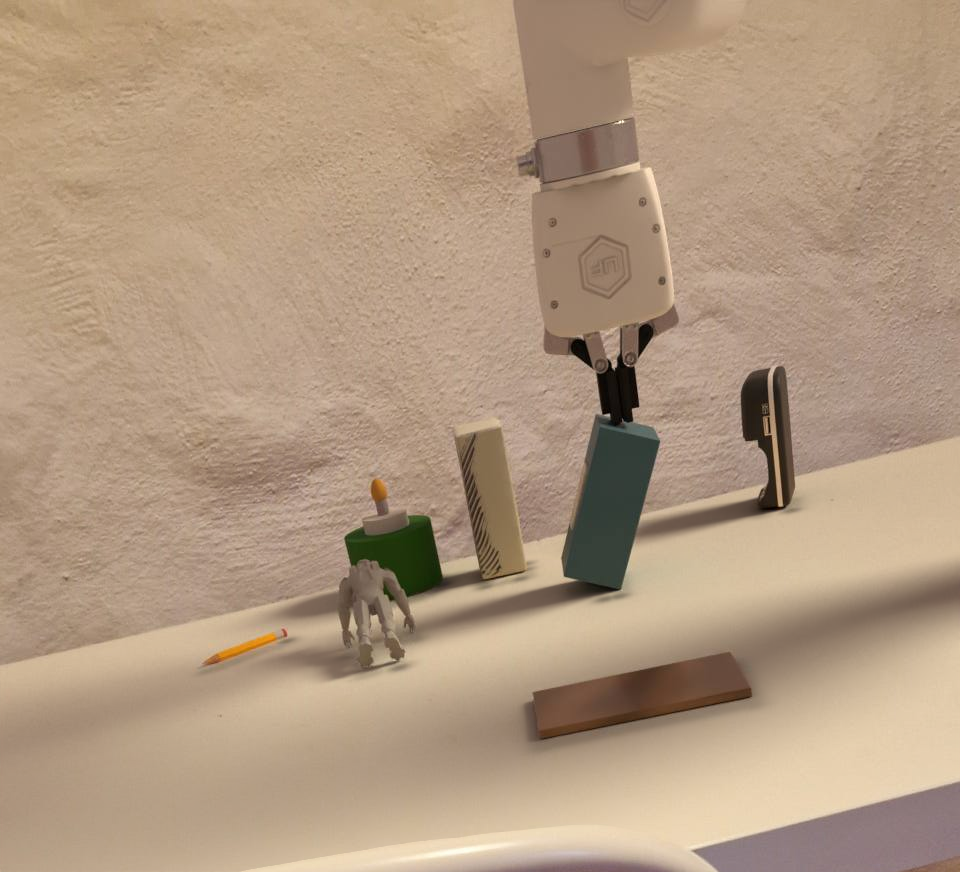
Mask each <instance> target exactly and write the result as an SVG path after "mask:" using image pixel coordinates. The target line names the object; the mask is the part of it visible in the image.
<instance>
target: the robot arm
mask: <svg viewBox="0 0 960 872" xmlns="http://www.w3.org/2000/svg"><path fill="white" fill-rule="evenodd" d="M755 1H756V0H512V6H513V13H514V19H515V25H516V33H517V40H518V46H519V54H520V60H521V61H520V62H521V66H522V74H523V80H524V87H525V88H524V89H525V94H526V100H527V108H528V115H529V120H530V127H531V134H532V140H533V143H532V144H533V147H531V148H530V151H526V152H525V154H522V155H518V156H516V157H515V158H516V166H517V172H518V177H519V178H521V177H526V176H529V178H530V177H534V179H538V183H539V188H540V190H539V191H536V192H533V193H532V194H531V228H532V243H533V244H532V246H533V247H532V249H533V258H534V268H535V276H536V284H537V294H538V301H539V306H540V312H541V315H542V320H543V338H542V340H543V341H542V349H543V351H544V352H545V353H546V354H547V355H552V356H555V355H556V356H575V357H576V358H577V359H579V360H580V361H581V362H583V363H584V364H585V365H587V366H588V367H589V368H591V369H592V370H593V371H594V372H595V375H596V382H597V390H598V397H599V404H600V409H601V410H600V411H601V415H603V416H607V415H609V417H610V419H611V421H612V423H613V425H614V426H615V425H620V423H621V422H622V420H623V421H624V422H627V423H630V422H633V423H634V414H633V410H634V409H638V408H640V399H639V391H638V381H637V373H636V365H637V364H638V362H639V358H640V357H641V356H642V354H643V353H644V351H645V349H646V348H647V346H648V345H649V343H650V342H651V340H652V339H654V338H655V337H658V336H661V335H662V334H664V333H666V332H668V331H670V330H672V329H674V328H676V327H677V326H678V325H679V322H680V318H679V314H678V312H677V308H676V305H675V302H674V301H675V288H674V287H675V286H674V277H673V268H672V262H671V255H670V249H669V243H668V237H667V231H666V225H665V219H664V214H663V209H662V203H661V199H660V194H659V190H658V187H657V183H656V179H655V176H654V173H653V170H652V167H651V166H647V167H641V162H640V153H639V152H640V151H639V145H638V144H639V143H638V135H637V127H636V118H634V117H635V111H634V110H635V109H634V100H633V93H632V92H633V91H632V83H631V76H630V75H631V74H630V67H629V58H637V57H638V58H639V57H657V56H665V55H673V54H679V53H681V52H686V51H696V50H699V49H704V48H707V47H710V46H712V45H713V44H715V43H717V42H719V41H720V40H721V39H722V38H724V37H725V36H726V35H727V34H729V33H730V32H731V31H732V30H733V28H734V27H735V26H737V24H738V23H739V22H740V21H741V20H742V19H743V17H744V15H745V14H747V12H748V11H749V10H750V8H751V7H752V6H753V5H754V2H755ZM534 140H535V141H534ZM614 328H619V348H618V349H619V351H618V352H619V354H618V356H617V357H616V367H613V364H612V361H611V360H610V359H609V358H607V354H606V351H605V347H604V343H603V339H602V336H601V331H605V330H609V329H614ZM581 335H582V337H579V336H581Z"/></svg>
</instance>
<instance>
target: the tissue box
mask: <svg viewBox="0 0 960 872" xmlns="http://www.w3.org/2000/svg"><path fill="white" fill-rule="evenodd" d="M588 440H589V441H588V443H587V444H588V445H587V449H586V453H585V456H584V460H583V465H582V466H583V467H582V469H581V474H580V478H579V482H578V486H577V490H576V494H575V499H574V502H573V507H572V511H571V515H570V519H569V523H568V527H567V531H566V537H565V539H564V544H563V547H562V552H561V557H560V560H561V566H562V567H561V568H562V574H563V577H564V578H567V579H572V580H575V581H581V582H585V583H590V584H593V585H599V586H603V587H606V588H610V589H616V590H622V587H623V583H624V579H625V577H626V572H627V569H628V565H629V562H630V558H631V554H632V551H633V546H634V543H635V539H636V535H637V531H638V527H639V524H640V520H641V516H642V513H643V509H644V504H645V502H646V497H647V494H648V490H649V487H650V482H651V478H652V476H653V471H654V468H655V463H656V460H657V456H658V452H659V449H660V444H661V439H660V437H659V435H658V433H657V431H656V429H655V428H654V426H649V425H646V424H641V423H637V422H634V421H633V422H630V423H627V422H624V421H623V419H622V422H621V423H620V425H615V426H614V425H613V423H612V421H611V419H610V416H607V415H602V414H598V413H596V414H595V416H594V420H593V424H592V428H591V433H590V436H589V439H588Z"/></svg>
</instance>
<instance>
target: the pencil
mask: <svg viewBox="0 0 960 872" xmlns="http://www.w3.org/2000/svg"><path fill="white" fill-rule="evenodd" d="M286 637H288V632H287V630H286V629H285V628H281V629H278V630H275V631H273V632H270V633H267V634H265V635H262V636H259V637H257V638H254V639H252V640H251V639H250V640H249V641H246V642H244V643H241V644H238V645H235V646H233V647H230V648H228V649H224V650H221V651H219V652H216V653H215V654H213V655H212V656H210V657H209V658H207V659H206V660H204V661H202V663H201V665H207V664H214V663H220V662H223V661H226V660H228V659H231V658H234V657H237V656H239V655H241V654H244V653H247V652H250V651H252V650H255V649H257V648H260V647H263V646H265V645H268V644H271V643H273V642H276V641H279V640H282V639H284V638H286Z"/></svg>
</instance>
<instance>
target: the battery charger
mask: <svg viewBox="0 0 960 872" xmlns="http://www.w3.org/2000/svg"><path fill="white" fill-rule="evenodd" d="M787 379H788V378H787V372H786V368H785V367H784V366H783V365H772V366H771V367H768V368H762V369H756V370H754V371H751V372H750V373H749V374H748V375H747V377H746V378H745V380H744V382H743V384H742V386H741V390H740V412H741V413H740V418H741V430H742V438H744V441H745V442H755V441H756V442H757V447H758V448H759V449H760V450H761V451H762V452H763V453H764V454H765V457H766V464H767V475H768V476H767V477H768V480H767V483H766V484H764V487H761V489H760V490H759V494H758V496H757V499H756V504H757V508H759V509H770V508H777V507H778V508H783V507H784V506H789V505H790V504H791V501H792V499H793V496H794V492H795V489H796V478H795V466H794V453H793V441H792V427H791V415H790V403H789V390H788V380H787Z"/></svg>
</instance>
